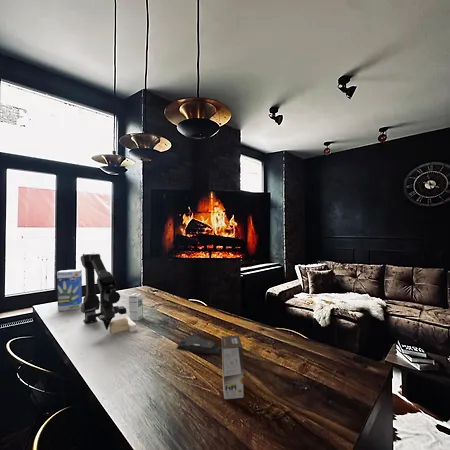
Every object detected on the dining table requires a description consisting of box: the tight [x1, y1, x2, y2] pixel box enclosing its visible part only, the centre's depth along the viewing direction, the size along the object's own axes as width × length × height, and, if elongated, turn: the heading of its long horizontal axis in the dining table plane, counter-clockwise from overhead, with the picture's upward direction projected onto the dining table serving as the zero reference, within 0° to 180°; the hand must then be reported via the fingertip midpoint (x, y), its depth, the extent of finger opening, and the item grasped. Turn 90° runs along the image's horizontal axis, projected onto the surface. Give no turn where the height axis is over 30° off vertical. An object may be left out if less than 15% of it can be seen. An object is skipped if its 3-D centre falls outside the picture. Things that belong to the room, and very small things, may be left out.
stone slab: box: [175, 331, 222, 354], centre depth 116 cm, size 22×16×5 cm
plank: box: [125, 316, 137, 333], centre depth 141 cm, size 14×3×3 cm, turn 37°
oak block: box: [108, 316, 129, 334], centre depth 137 cm, size 6×8×5 cm
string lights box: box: [56, 269, 83, 311], centre depth 176 cm, size 13×8×26 cm, turn 104°
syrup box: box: [128, 292, 144, 321], centre depth 153 cm, size 6×6×14 cm
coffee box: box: [221, 334, 245, 400], centre depth 85 cm, size 9×6×16 cm
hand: (106, 329), depth 134 cm, fingers closed
